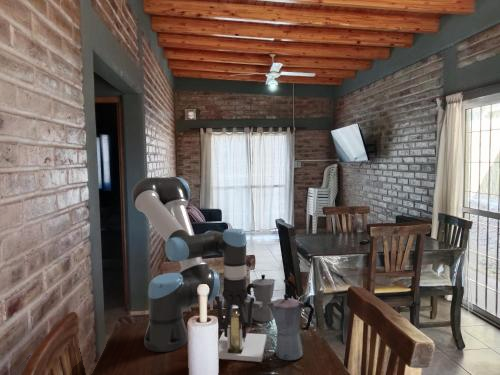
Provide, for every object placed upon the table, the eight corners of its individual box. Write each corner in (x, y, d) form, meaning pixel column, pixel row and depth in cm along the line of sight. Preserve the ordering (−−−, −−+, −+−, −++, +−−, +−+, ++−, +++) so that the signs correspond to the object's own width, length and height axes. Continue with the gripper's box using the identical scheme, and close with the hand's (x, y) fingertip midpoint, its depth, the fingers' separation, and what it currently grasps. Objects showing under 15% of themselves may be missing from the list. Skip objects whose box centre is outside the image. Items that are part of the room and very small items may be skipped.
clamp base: (212, 358, 115) (212, 353, 115) (223, 335, 131) (223, 331, 131) (261, 361, 113) (261, 357, 113) (266, 338, 129) (266, 334, 129)
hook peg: (229, 356, 116) (228, 315, 116) (231, 350, 120) (231, 310, 119) (240, 357, 116) (239, 315, 115) (242, 351, 119) (241, 311, 119)
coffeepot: (267, 310, 155) (267, 269, 154) (282, 317, 148) (282, 274, 147) (239, 319, 145) (239, 276, 145) (254, 327, 138) (254, 281, 137)
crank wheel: (264, 341, 123) (264, 299, 122) (257, 349, 117) (257, 305, 117) (230, 333, 129) (229, 293, 128) (221, 340, 124) (221, 299, 123)
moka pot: (268, 345, 123) (268, 288, 123) (313, 349, 121) (314, 291, 120) (265, 360, 114) (265, 298, 113) (314, 364, 112) (314, 301, 111)
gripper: (261, 274, 119) (261, 342, 120) (213, 272, 122) (214, 339, 123) (258, 281, 112) (258, 354, 113) (207, 279, 114) (208, 350, 115)
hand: (235, 346), depth 118 cm, fingers closed on hook peg, 3 cm apart
